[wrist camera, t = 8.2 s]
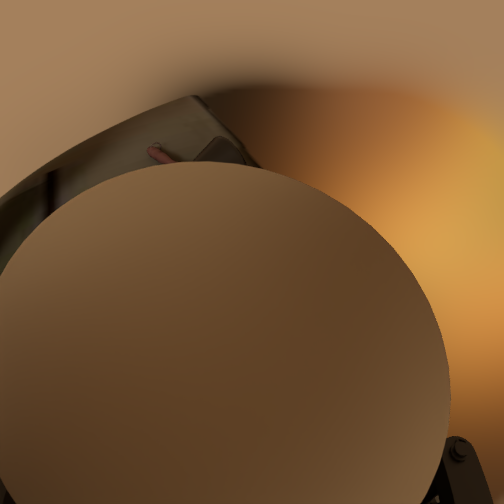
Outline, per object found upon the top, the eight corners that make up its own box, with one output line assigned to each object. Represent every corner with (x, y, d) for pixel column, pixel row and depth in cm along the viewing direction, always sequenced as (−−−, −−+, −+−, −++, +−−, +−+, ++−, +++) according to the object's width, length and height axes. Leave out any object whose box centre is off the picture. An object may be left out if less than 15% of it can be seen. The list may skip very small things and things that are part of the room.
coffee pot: (255, 189, 37) (204, 225, 36) (193, 142, 46) (154, 168, 44) (244, 147, 31) (184, 187, 29) (179, 109, 40) (135, 136, 38)
